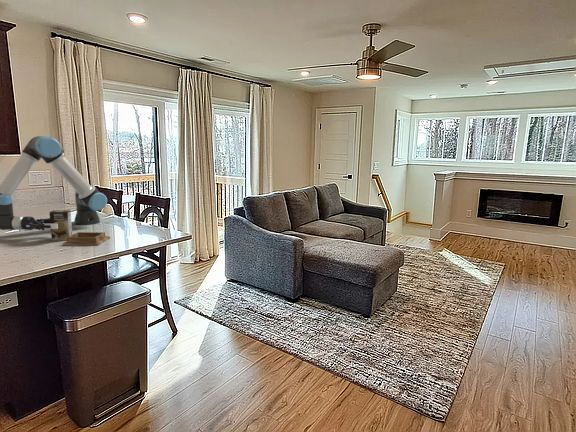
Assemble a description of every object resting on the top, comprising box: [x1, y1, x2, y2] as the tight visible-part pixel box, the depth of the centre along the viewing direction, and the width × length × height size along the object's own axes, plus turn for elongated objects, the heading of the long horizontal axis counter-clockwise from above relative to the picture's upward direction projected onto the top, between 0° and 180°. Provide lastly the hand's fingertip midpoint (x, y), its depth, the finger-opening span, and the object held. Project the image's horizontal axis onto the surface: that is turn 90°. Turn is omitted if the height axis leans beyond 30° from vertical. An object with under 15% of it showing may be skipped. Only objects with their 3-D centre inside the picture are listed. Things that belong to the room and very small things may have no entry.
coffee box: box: [49, 209, 73, 241], centre depth 207 cm, size 9×6×16 cm
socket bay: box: [62, 231, 111, 246], centre depth 204 cm, size 16×18×4 cm
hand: (64, 223), depth 207 cm, fingers open, 13 cm apart
